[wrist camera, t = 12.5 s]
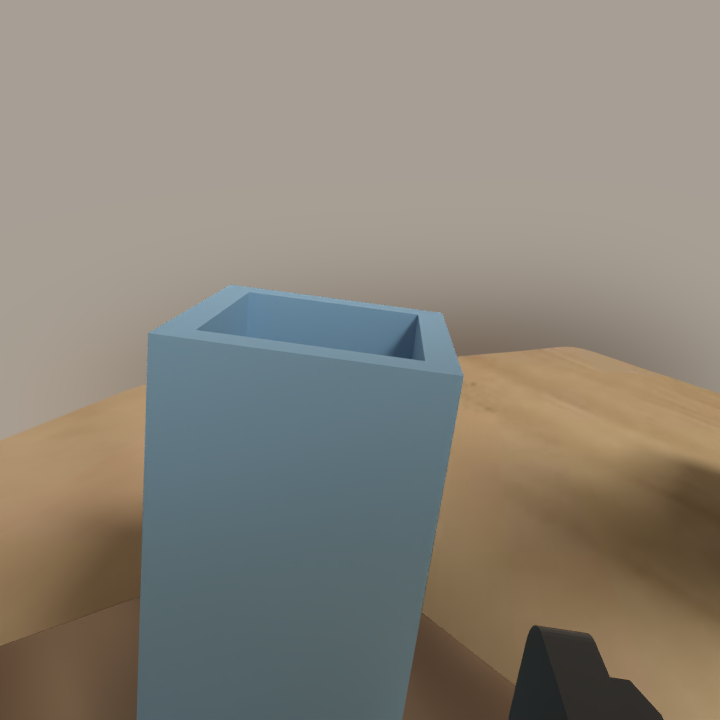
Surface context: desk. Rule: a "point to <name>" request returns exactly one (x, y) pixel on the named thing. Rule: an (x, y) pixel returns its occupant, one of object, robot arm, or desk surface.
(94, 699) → the peg board
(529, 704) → the robot arm
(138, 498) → the desk surface
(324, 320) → the sleeve
